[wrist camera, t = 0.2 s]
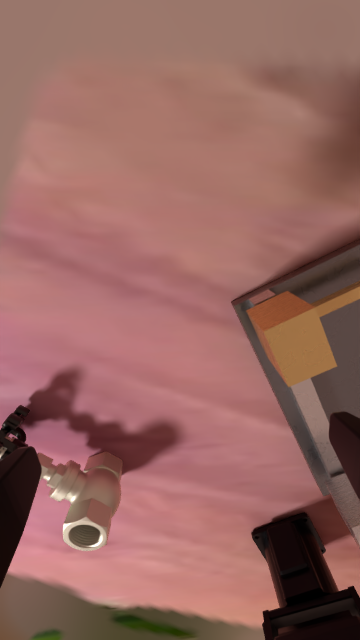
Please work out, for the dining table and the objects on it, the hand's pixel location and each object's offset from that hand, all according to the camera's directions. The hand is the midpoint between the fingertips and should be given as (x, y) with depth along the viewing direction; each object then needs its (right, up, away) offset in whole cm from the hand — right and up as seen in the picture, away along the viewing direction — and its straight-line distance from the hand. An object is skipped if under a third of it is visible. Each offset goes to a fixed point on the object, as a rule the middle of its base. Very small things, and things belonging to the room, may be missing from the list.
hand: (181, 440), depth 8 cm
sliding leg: (+10, +5, +12) cm, 17 cm away
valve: (-11, -8, +18) cm, 23 cm away
